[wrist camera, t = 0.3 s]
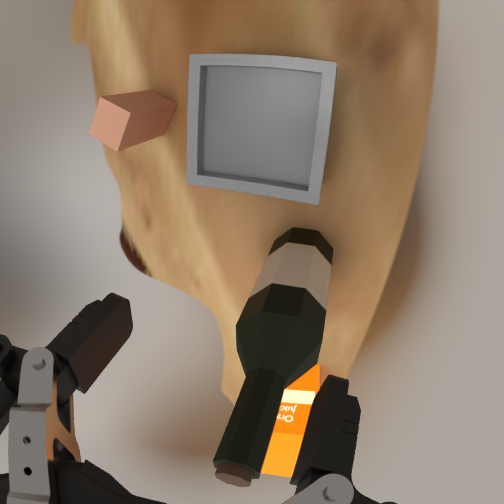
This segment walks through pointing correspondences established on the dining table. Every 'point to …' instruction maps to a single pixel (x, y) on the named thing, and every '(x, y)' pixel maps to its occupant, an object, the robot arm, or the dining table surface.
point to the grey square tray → (259, 124)
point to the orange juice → (291, 424)
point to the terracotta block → (131, 118)
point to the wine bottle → (275, 346)
